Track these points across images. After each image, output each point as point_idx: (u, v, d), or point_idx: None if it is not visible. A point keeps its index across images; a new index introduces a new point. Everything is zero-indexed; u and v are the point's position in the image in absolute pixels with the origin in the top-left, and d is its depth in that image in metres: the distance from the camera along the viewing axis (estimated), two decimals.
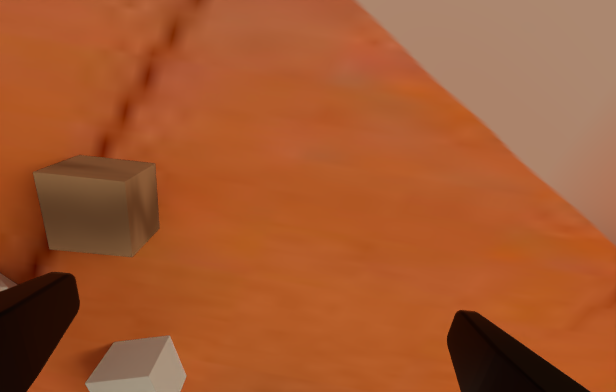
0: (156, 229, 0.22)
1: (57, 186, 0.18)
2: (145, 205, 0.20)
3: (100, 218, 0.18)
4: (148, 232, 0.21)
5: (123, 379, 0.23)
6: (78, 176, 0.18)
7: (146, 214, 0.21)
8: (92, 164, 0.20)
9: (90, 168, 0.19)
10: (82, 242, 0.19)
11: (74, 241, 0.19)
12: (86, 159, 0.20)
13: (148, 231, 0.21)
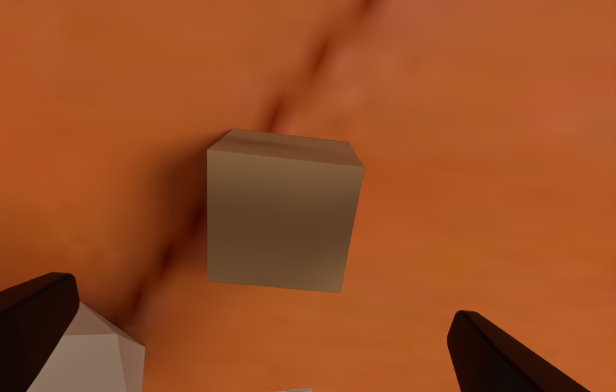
0: None
1: (244, 175, 0.10)
2: None
3: (304, 231, 0.11)
4: None
5: None
6: (283, 156, 0.10)
7: None
8: (272, 140, 0.12)
9: (280, 146, 0.11)
10: (264, 270, 0.11)
11: (250, 268, 0.11)
12: (252, 134, 0.13)
13: None
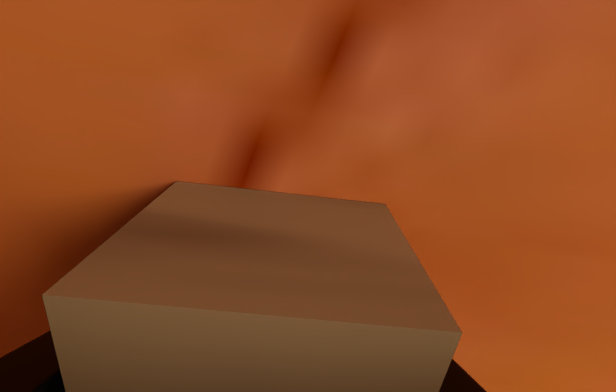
0: None
1: (152, 349, 0.04)
2: None
3: None
4: None
5: None
6: (252, 305, 0.04)
7: None
8: (240, 221, 0.06)
9: (253, 245, 0.05)
10: None
11: None
12: (205, 201, 0.06)
13: None
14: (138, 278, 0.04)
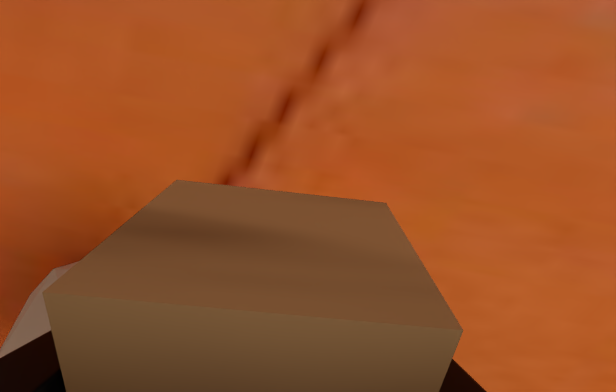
0: None
1: (153, 347, 0.04)
2: None
3: None
4: None
5: None
6: (253, 303, 0.04)
7: None
8: (240, 219, 0.06)
9: (254, 243, 0.05)
10: None
11: None
12: (205, 199, 0.06)
13: None
14: (138, 276, 0.04)
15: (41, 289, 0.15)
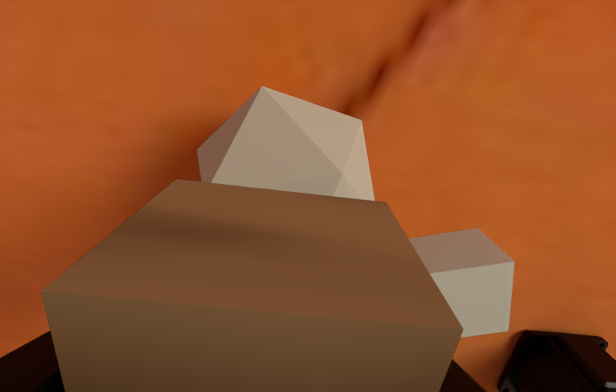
0: None
1: (152, 346, 0.04)
2: None
3: None
4: None
5: (477, 267, 0.17)
6: (252, 302, 0.04)
7: None
8: (240, 218, 0.06)
9: (254, 243, 0.05)
10: None
11: None
12: (205, 198, 0.06)
13: None
14: (137, 275, 0.04)
15: (252, 107, 0.12)
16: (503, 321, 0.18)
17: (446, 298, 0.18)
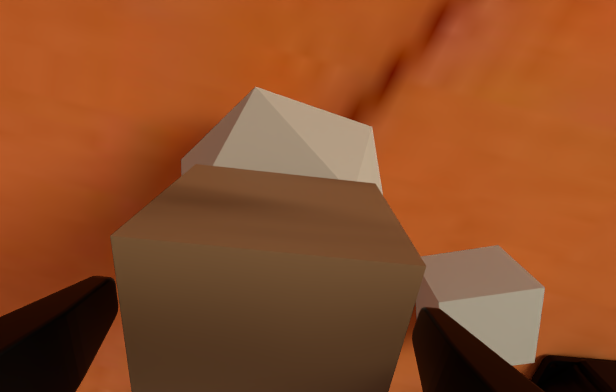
0: None
1: (190, 281, 0.05)
2: None
3: (307, 368, 0.06)
4: None
5: (502, 294, 0.15)
6: (266, 246, 0.05)
7: None
8: (252, 192, 0.07)
9: (265, 210, 0.06)
10: None
11: None
12: (222, 179, 0.08)
13: None
14: (178, 228, 0.05)
15: (243, 112, 0.10)
16: (529, 351, 0.16)
17: (466, 328, 0.16)
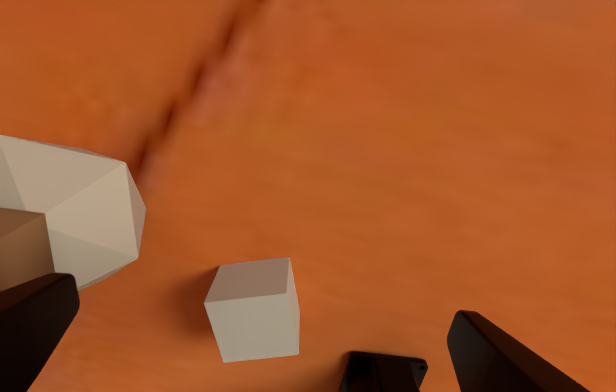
0: None
1: None
2: None
3: None
4: None
5: (253, 298, 0.18)
6: None
7: None
8: None
9: None
10: None
11: None
12: None
13: None
14: None
15: None
16: (291, 345, 0.20)
17: (232, 324, 0.19)
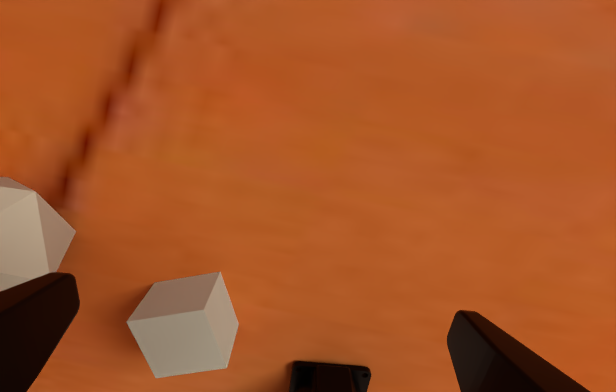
0: None
1: None
2: None
3: None
4: None
5: (173, 315, 0.19)
6: None
7: None
8: None
9: None
10: None
11: None
12: None
13: None
14: None
15: None
16: (218, 359, 0.20)
17: (158, 341, 0.20)
